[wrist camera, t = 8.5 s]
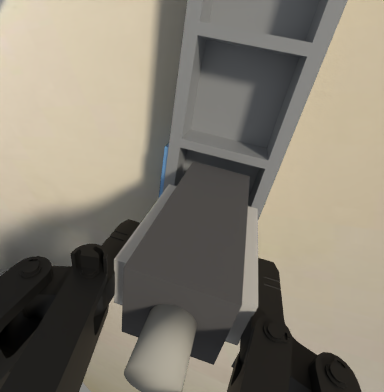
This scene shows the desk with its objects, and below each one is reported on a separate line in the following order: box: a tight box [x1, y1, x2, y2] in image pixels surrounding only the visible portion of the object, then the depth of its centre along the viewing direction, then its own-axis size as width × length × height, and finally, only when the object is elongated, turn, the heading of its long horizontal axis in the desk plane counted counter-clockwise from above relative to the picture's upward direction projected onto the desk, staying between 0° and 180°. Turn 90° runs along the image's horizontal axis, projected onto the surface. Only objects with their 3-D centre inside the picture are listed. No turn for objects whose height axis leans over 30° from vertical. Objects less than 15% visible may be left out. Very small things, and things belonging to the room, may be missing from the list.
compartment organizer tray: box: [159, 0, 347, 219], centre depth 17 cm, size 8×26×3 cm, turn 170°
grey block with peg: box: [122, 162, 250, 392], centre depth 12 cm, size 4×4×12 cm
